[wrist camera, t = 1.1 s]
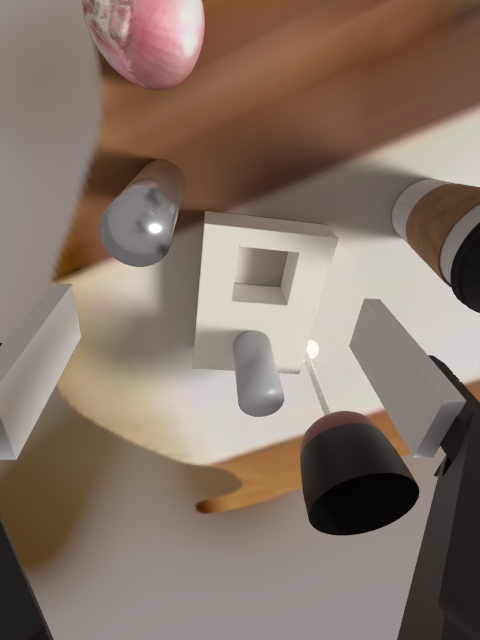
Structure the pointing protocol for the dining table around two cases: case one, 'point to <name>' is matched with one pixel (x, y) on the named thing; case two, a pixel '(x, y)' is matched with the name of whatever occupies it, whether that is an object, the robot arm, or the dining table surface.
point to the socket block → (259, 304)
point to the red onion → (148, 38)
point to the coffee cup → (444, 232)
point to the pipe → (144, 215)
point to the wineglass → (351, 470)
